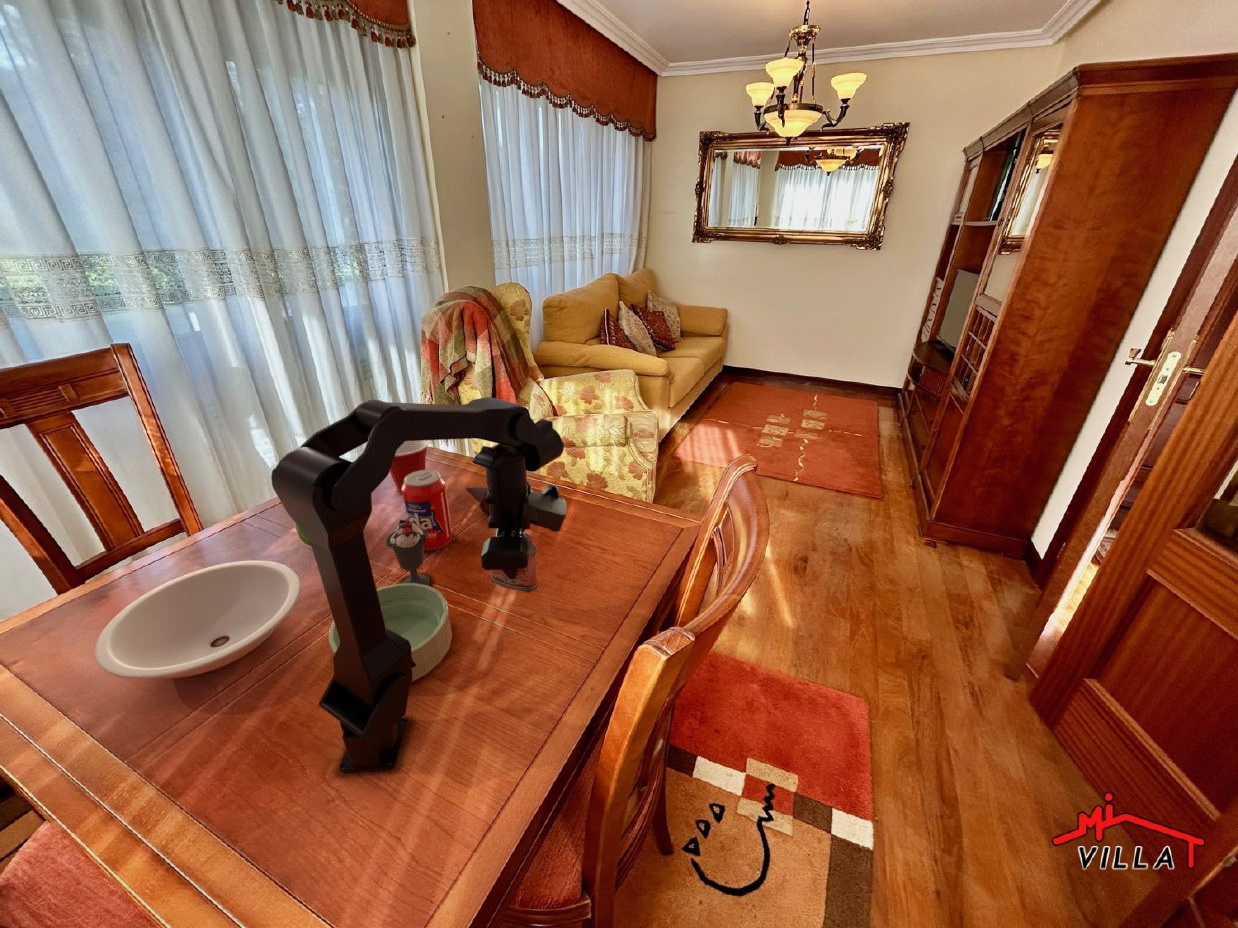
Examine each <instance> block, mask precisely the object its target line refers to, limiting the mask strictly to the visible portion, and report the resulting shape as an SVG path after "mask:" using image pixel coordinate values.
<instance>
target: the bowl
mask: <svg viewBox="0 0 1238 928" xmlns="http://www.w3.org/2000/svg"><path fill="white" fill-rule="evenodd" d="M376 589H377V593H378V597H379V601H380V606H381V610H382V614H383V618H384V622H385V626H386V628H388V629H390V630H392V631H393V632H395V633H397V634H398V635H400V636H402V637H403V638H405V639H407V640H408V641H409V642H410V645H411V655H412V660H413V662H414V663H415V664H416V666H415V667H413V668H412V673H413V678H412V683H413V682H415V681H417V680H418V679H420V678H422V677H424V676H426V675H428V673H430V672H431V671H432V670H433V669H435V668H436V666H438V664H441V662H442V660H443V659H444V657H445V656H446V654H447V653H448V651H449V650H450V648H451V643H452V639H453V631H452V625H451V620H450V612H449V607H448V601H447V598H446V597H445V596H444V595H443V594H442V593H441V591H440V590H437V589H436V588H434V587H432V586H430V585H429V586H428V585H423V584H417V583H403V582H401V583H395V584H390V585H385V586H381V587H378V588H376ZM328 644H329V645H328V646H329V647H330V651H331V654H332V657H334V654H335V652H336V650H337V648H338V646H339V644H340V639H339V636H338V633H337V629H336V626H335V623H334V620H333V621H332V623H331V625H330V626H329V632H328Z"/></svg>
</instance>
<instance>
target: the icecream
mask: <svg viewBox="0 0 1238 928" xmlns="http://www.w3.org/2000/svg"><path fill="white" fill-rule="evenodd" d="M465 490H466V491H467V492H468V493H469V495H471V496H472V497H473V498H474V499H475V500H476V501H477V502H478V503H479V509H481V512H483V513H485V514H490V509H489V504H486V495H487V492H488V488H487V486H484V487H483V486H481V487H480V486H479V487H466V488H465Z"/></svg>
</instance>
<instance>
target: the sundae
mask: <svg viewBox="0 0 1238 928" xmlns="http://www.w3.org/2000/svg"><path fill="white" fill-rule="evenodd" d="M427 537H428V534H427V532H426V531H425V530H424V529H422V528H419V527H417V526H416V525H415V524H414V523H413V522H411V521H409V518H407V517H406V519H400V520H399V522H398V526H397V528H396V531H394V532H391V533H390V534H389V535H388V536H387V537H386V540H385V545H386V547H387V548H389V549H392V551H393V553H394V555H395V558H396V561H397V564H398V565H399V567H400V568H401V569H402V570H405V571H408V572H409V577H407V578H405V579H404V580H403V581H402V583H417V584H423V585H428V586H430V584H431V578H430V577H429V576H427V575H424V574H418V569H419V568H420V567H421V566H422V565H423V563H424V560H425V550H424V542H425V541H426V540H427V539H426V538H427Z"/></svg>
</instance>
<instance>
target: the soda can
mask: <svg viewBox="0 0 1238 928" xmlns="http://www.w3.org/2000/svg"><path fill="white" fill-rule="evenodd" d="M402 494H403V495H402V500H403V504H404V510H405V515H406V519H407V518H409V521H411V522H413V523H414V524H415V525H416V526H417V527H419V528H422V529H424V530H425V531H426V532H427V534H428V537H427V538H426V539H427V540H426V541H425V542H424V551H434V550H438V549H441V548H443V547H445V546H446V545H448V544H449V543H450V542H451V540H452V539H453V529H452V521H451V516H450V508H449V507H450V506H449V501H448V493H447V486H446V482H445V480H444V479H443V478H442V476H441V474H440V473H439V471H437V470H434V469H425V470H419V471H415V472H412V473H410V474H408V475H407V476H406V477H405V478H404V484H403V485H402Z"/></svg>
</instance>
